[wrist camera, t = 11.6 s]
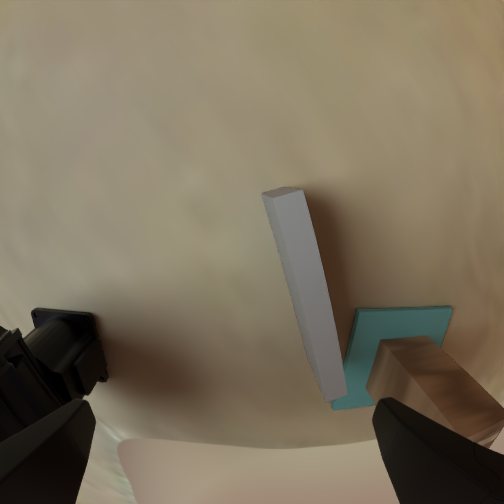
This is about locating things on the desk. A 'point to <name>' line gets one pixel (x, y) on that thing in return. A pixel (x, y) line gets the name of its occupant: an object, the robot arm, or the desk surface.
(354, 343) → the mat
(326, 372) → the screen
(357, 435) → the desk surface
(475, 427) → the letter block
